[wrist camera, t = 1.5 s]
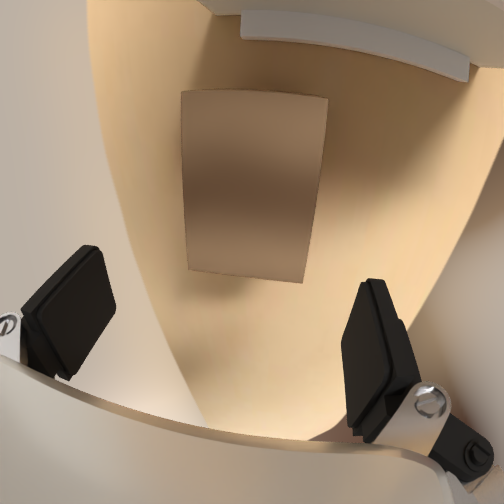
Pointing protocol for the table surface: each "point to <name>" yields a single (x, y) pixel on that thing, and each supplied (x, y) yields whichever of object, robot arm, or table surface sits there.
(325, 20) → the white board
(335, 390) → the table surface
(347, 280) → the table surface
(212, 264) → the tan rectangular block
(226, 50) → the table surface
